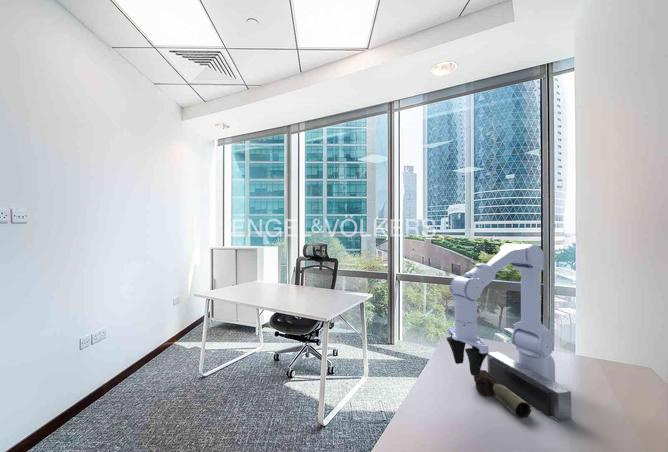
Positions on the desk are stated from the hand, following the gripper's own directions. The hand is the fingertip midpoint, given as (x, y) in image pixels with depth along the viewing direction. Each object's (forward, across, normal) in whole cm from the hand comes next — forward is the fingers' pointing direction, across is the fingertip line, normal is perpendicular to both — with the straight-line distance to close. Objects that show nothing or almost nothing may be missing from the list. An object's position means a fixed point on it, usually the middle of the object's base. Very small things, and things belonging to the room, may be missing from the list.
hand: (466, 368), depth 79 cm
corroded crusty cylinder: (+10, 0, +9) cm, 13 cm away
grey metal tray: (+9, 0, +19) cm, 21 cm away
